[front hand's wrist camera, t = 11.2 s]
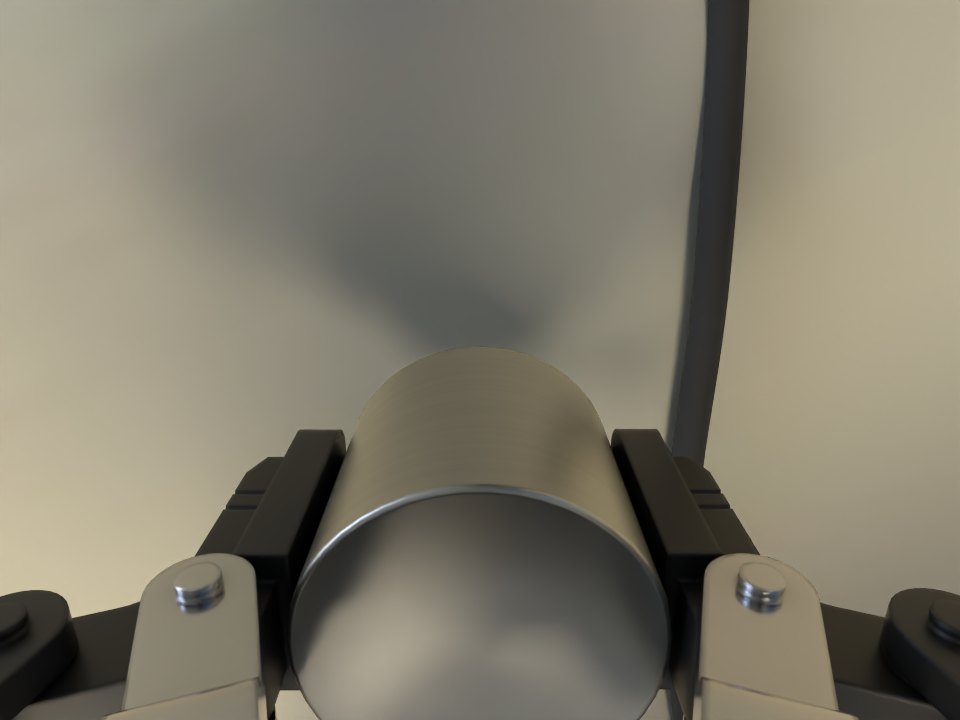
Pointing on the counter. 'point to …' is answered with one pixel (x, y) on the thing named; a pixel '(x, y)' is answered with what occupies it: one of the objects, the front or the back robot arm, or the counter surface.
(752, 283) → the counter surface
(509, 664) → the can
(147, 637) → the front robot arm
